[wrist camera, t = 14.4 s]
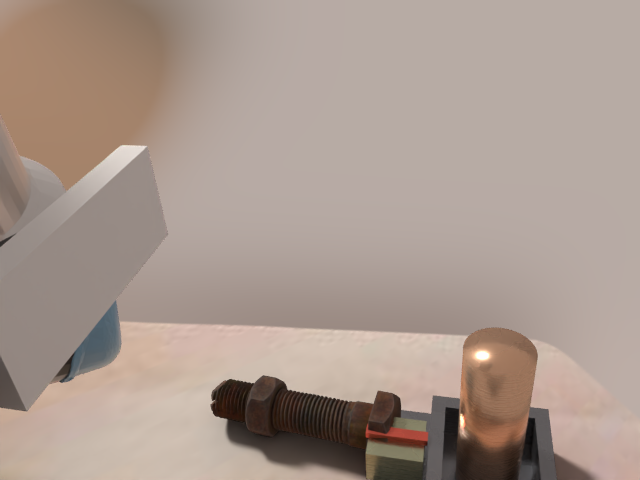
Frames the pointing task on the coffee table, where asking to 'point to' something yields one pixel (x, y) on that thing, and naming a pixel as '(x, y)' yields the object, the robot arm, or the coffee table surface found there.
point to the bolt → (303, 411)
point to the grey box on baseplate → (447, 446)
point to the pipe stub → (494, 404)
